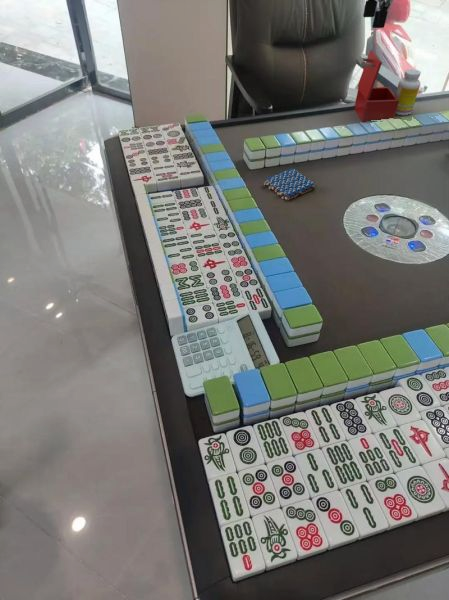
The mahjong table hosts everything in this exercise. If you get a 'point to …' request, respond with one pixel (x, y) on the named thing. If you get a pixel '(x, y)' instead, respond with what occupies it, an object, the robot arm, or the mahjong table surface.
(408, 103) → the supplement bottle
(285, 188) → the woven mat
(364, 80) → the lid
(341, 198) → the mahjong table surface
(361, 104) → the box
